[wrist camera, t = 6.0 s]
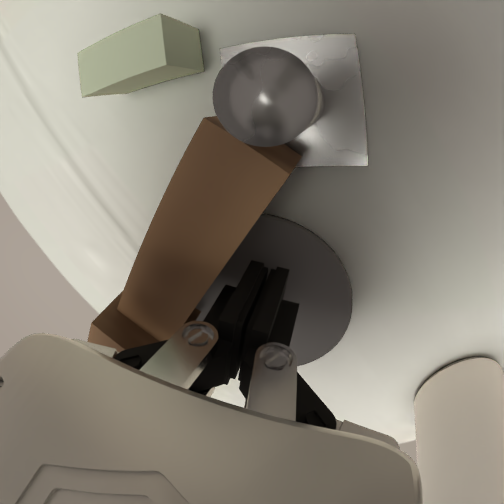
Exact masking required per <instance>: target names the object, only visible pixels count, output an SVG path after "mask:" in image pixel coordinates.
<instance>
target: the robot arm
mask: <svg viewBox="0 0 504 504" xmlns="http://www.w3.org/2000/svg"><path fill="white" fill-rule="evenodd" d="M289 271H290V269H286V268H282V267H278V266H277V268H276V270H275V269H271V271H270V273H269V275H268V278H267V273H268V268H267V267H264V263H261V262H257V261H253V260H251V262H250V264H249V265H248V267H247V269H246V271H245V273H244V274H243V276H242V278H241V280H240V282H239V283H238V285H237V287H233V286H230V285H225V286H224V288H223V289H222V291H221V293H220V294H219V296H218V297H217V299H216V301H215V302H214V304H213V306H212V307H211V309H210V310H209V312H208V314H207V315H206V317H205V319H204V320H203V321H191V322H188V323H185V324H184V325H183V326H181V327H180V328H179V329H178V330H177V331H176V332H175V333H174V335H173V336H172V337H171V338H170V339H169V340H164V341H160V342H156V343H152V344H148V345H143V346H139V347H135V348H130V349H126V350H123V351H121V352H117V350H116V349H115V348H110V347H106V346H102V345H98V344H94V343H90V342H86V341H82V340H78V339H68V338H65V337H61V336H58V335H52V334H45V333H38V334H32V335H29V336H27V337H25V338H23V339H21V340H20V341H19V342H17V343H16V344H15V345H14V346H13V347H12V348H10V349H9V350H8V351H7V352H6V353H5V354H4V355H3V356H2V357H1V358H0V504H423V494H422V482H421V476H420V472H419V469H418V467H417V465H416V463H415V461H414V460H413V459H412V458H411V457H409V456H408V455H407V454H406V453H404V452H403V451H401V450H400V447H399V445H398V442H397V441H396V440H395V439H394V438H392V437H390V436H388V435H385V434H382V433H380V432H377V431H374V430H371V429H368V428H365V427H363V426H360V425H357V424H354V423H352V422H349V421H347V420H344V421H343V422H342V421H339V420H337V419H335V417H334V415H333V414H332V412H331V411H330V410H329V409H328V408H327V406H326V405H325V404H324V403H323V402H322V401H321V399H320V398H319V397H318V396H317V395H316V394H315V392H314V391H313V390H312V389H311V388H310V386H309V385H308V384H307V383H306V382H305V381H304V379H303V378H302V377H301V376H300V375H299V373H298V372H297V357H296V354H295V353H294V351H293V350H292V349H291V348H290V347H289V346H290V342H291V338H292V334H293V330H294V325H295V321H296V317H297V313H298V308H299V303H295V302H291V301H287V300H283V297H284V293H285V289H286V284H287V280H288V276H289ZM266 279H267V280H266ZM239 368H240V371H239ZM238 371H239V378H238V380H239V381H240V387H239V389H240V391H241V392H242V394H243V395H244V397H245V398H246V401H245V406H244V408H242V407H239V406H236V405H232V404H229V403H226V402H223V401H220V400H217V399H214V398H211V395H212V394H213V392H214V390H215V387H216V386H219V385H222V384H226V385H227V384H228V382H229V380H230V378H233V379H235V378H236V376H237V373H238Z"/></svg>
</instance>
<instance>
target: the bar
mask: <svg viewBox="0 0 504 504" xmlns="http://www.w3.org/2000/svg"><path fill="white" fill-rule="evenodd" d="M301 157H302V156H300V155H299V154H298V153H296V152H295V151H293V150H292V149H291V148H289V147H288V146H286V145H285V144H281V145H278V146H272V147H260V146H253V145H249V144H247V143H244V142H242V141H240V140H238V139H236V138H235V137H234V136H232V135H231V134H230V133H229V132H228V131H227V130H226V129H225V128H224V127H223V126H222V124H221V123H220V121H219V119H218V117H217V116H213V117H205V118H203V120H202V122H201V123H200V125H199V127H198V129H197V131H196V133H195V134H194V136H193V138H192V140H191V142H190V144H189V146H188V147H187V149H186V151H185V153H184V155H183V157H182V159H181V161H180V163H179V165H178V167H177V169H176V171H175V173H174V175H173V177H172V179H171V181H170V183H169V185H168V187H167V189H166V191H165V193H164V195H163V198H162V200H161V202H160V204H159V206H158V208H157V211H156V213H155V215H154V217H153V219H152V222H151V224H150V226H149V229H148V231H147V233H146V236H145V238H144V240H143V243H142V245H141V247H140V250H139V252H138V255H137V257H136V260H135V262H134V265H133V267H132V270H131V272H130V275H129V277H128V280H127V283H126V285H125V288H124V290H123V291H122V292H121V293H120V294H119V295H118V296H117V297H116V298H115V299H114V300H113V301H112V302H111V303H110V304H109V305H108V306H107V307H106V308H105V310H104V311H103V312H102V313H101V314H100V315H99V316H98V317H97V318H96V319H95V320H94V321H93V322H92V323H91V328H90V332H89V337H88V341H87V342H90V343H94V344H98V345H102V346H106V347H110V348H115V349H116V350H117V352H121V351H123V350H126V349H130V348H135V347H139V346H143V345H148V344H152V343H156V342H160V341H164V340H169V339H170V338H171V337H172V336H173V335H174V333H175V332H176V331H177V330H178V329H179V328H180V327H181V326H183V325H184V324H185V323H188V322H191V321H196V319H197V318H198V316H199V315H200V313H201V311H199V310H198V309H196V308H195V307H196V306H197V304H198V303H199V302H200V300H201V299H202V297H203V296H204V294H205V293H206V292H207V290H208V289H209V287H210V286H211V284H212V283H213V282H214V280H215V279H216V277H217V276H218V275H219V273H220V272H221V270H222V269H223V267H224V266H225V265H226V263H227V262H228V260H229V259H230V258H231V256H232V255H233V253H234V252H235V250H236V249H237V248H238V246H239V245H240V243H241V242H242V241H243V239H244V238H245V236H246V235H247V234H248V232H249V231H250V229H251V228H252V227H253V225H254V224H255V222H256V221H257V220H258V218H259V217H260V215H261V214H262V213H263V211H264V210H265V209H266V207H267V206H268V204H269V203H270V202H271V200H272V199H273V197H274V196H275V195H276V193H277V192H278V191H279V189H280V188H281V186H282V185H283V184H284V182H285V181H286V179H287V178H288V177H289V175H290V174H291V172H292V171H293V169H294V168H295V166H296V165H297V163H298V162H299V160H300V159H301Z"/></svg>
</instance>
